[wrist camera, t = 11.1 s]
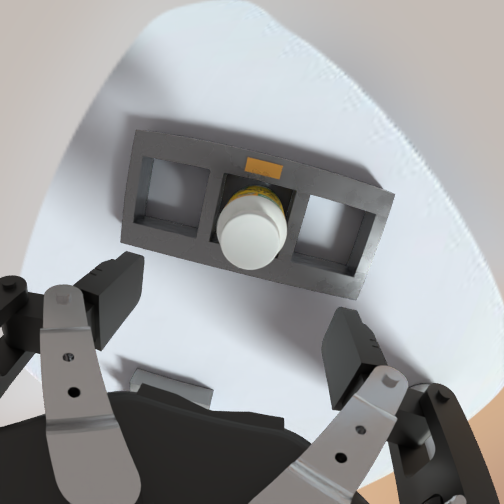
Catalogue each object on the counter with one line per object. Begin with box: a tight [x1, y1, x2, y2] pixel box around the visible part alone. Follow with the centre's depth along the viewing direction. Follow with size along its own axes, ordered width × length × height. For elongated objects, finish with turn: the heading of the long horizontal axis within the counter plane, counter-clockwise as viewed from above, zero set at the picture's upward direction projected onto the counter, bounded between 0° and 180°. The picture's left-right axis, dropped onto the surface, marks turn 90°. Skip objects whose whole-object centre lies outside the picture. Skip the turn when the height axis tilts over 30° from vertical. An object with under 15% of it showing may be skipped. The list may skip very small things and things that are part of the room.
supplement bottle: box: [217, 185, 287, 270], centre depth 25 cm, size 5×5×10 cm
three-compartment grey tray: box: [120, 130, 395, 300], centre depth 27 cm, size 24×11×3 cm, turn 76°
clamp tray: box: [130, 368, 213, 410], centre depth 39 cm, size 11×19×3 cm, turn 166°
